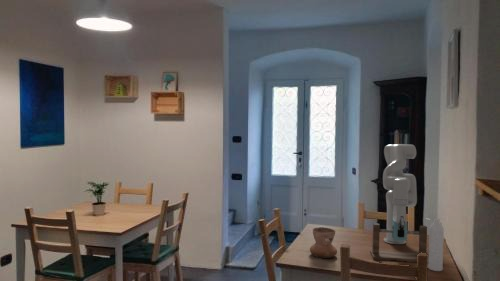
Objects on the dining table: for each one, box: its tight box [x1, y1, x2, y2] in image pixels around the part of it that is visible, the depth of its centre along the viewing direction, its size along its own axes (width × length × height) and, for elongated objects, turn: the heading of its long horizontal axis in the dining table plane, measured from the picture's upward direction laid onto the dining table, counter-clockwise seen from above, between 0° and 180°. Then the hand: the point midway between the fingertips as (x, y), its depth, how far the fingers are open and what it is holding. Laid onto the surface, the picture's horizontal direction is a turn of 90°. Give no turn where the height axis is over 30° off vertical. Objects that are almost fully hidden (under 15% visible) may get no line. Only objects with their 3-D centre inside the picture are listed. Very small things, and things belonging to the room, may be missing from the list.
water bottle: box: [424, 217, 445, 272], centre depth 198 cm, size 9×6×25 cm
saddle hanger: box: [392, 219, 408, 242], centre depth 214 cm, size 6×6×10 cm
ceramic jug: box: [309, 226, 338, 259], centre depth 217 cm, size 18×14×14 cm
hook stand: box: [369, 222, 428, 263], centre depth 215 cm, size 12×28×18 cm, turn 82°
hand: (399, 235), depth 214 cm, fingers closed on saddle hanger, 6 cm apart
